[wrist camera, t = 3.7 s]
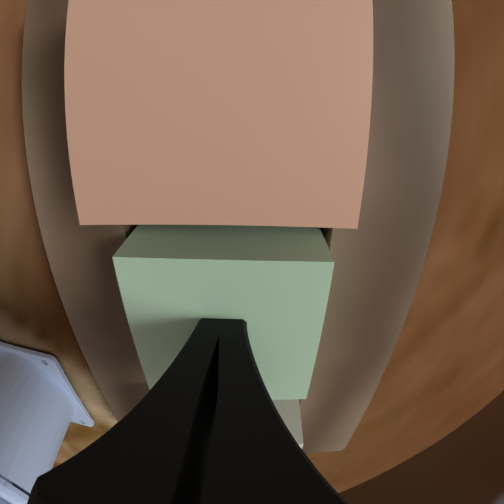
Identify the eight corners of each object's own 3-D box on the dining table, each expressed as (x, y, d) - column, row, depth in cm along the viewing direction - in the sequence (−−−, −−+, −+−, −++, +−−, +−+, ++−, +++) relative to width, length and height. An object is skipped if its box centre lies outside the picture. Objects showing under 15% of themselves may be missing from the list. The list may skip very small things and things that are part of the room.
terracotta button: (132, 182, 9) (79, 225, 6) (129, 2, 6) (73, -31, 3) (324, 183, 9) (356, 229, 6) (331, -4, 6) (368, -49, 3)
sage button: (168, 333, 14) (150, 391, 11) (149, 211, 11) (112, 256, 8) (297, 338, 14) (306, 399, 11) (313, 213, 11) (334, 261, 8)
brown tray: (136, 418, 18) (129, 441, 17) (56, 5, 7) (27, -3, 5) (339, 426, 18) (343, 450, 16) (423, -1, 7) (450, -13, 5)
